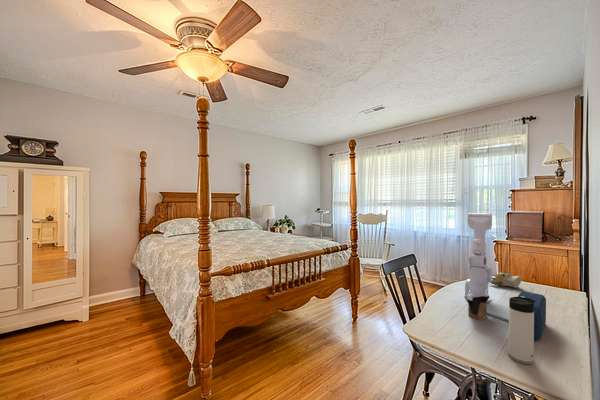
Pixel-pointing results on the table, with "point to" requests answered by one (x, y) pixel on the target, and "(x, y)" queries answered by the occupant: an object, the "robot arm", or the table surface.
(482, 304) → the walnut block
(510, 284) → the ceramic sculpture
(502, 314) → the board
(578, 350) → the table surface
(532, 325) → the travel mug
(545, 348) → the table surface
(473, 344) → the table surface
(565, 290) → the table surface
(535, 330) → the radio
